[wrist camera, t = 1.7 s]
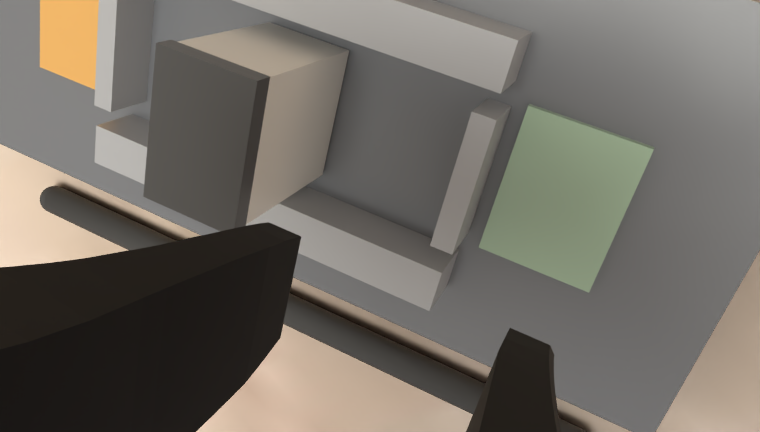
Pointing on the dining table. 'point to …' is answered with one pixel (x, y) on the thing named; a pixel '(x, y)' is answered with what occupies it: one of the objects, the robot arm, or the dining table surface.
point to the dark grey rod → (294, 311)
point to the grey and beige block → (240, 121)
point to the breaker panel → (467, 164)
